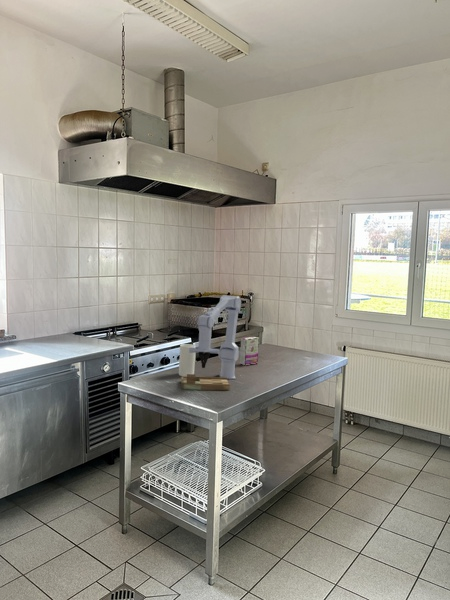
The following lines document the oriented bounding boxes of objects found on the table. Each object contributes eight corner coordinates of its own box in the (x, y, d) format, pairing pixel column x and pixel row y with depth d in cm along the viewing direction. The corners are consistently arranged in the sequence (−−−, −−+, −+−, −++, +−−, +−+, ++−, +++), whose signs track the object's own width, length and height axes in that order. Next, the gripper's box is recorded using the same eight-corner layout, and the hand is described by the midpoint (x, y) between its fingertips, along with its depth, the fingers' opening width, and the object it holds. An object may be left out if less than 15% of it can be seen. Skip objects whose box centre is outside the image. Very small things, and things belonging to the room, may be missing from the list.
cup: (196, 374, 240) (198, 345, 239) (188, 377, 233) (189, 347, 232) (184, 371, 244) (186, 343, 243) (175, 374, 237) (177, 345, 236)
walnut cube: (186, 382, 217) (186, 374, 216) (194, 382, 217) (195, 374, 217) (186, 384, 213) (187, 376, 212) (195, 384, 213) (195, 376, 213)
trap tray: (181, 381, 224) (181, 376, 224) (226, 382, 227) (226, 377, 227) (181, 389, 211) (182, 383, 211) (229, 390, 214) (229, 384, 214)
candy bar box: (252, 362, 277) (253, 336, 275) (257, 364, 273) (259, 337, 271) (239, 364, 269) (240, 337, 268) (244, 366, 266) (246, 339, 264)
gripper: (190, 341, 209) (188, 369, 211) (220, 342, 211) (219, 370, 212) (189, 338, 216) (188, 365, 217) (219, 339, 218) (217, 366, 219)
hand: (203, 367), depth 215 cm, fingers closed
